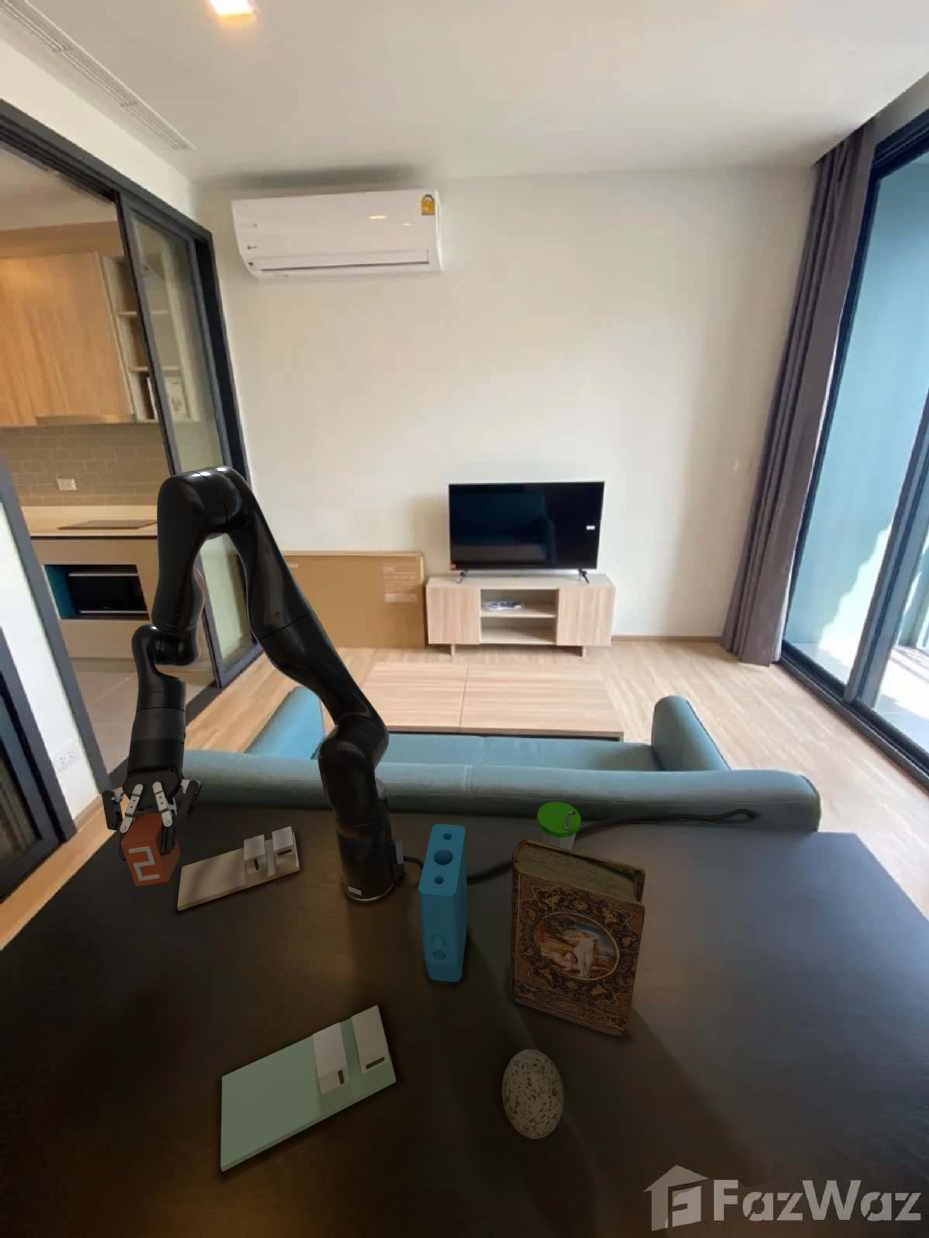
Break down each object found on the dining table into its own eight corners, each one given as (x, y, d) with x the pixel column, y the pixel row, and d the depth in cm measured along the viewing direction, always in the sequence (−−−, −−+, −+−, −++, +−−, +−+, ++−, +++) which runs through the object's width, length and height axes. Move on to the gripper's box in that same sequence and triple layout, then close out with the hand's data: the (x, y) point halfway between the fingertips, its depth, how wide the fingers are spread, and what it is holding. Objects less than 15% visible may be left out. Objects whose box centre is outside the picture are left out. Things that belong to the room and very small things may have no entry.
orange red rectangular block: (180, 852, 80) (168, 811, 77) (167, 883, 75) (153, 839, 72) (150, 857, 79) (136, 815, 76) (135, 887, 74) (119, 844, 71)
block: (459, 995, 72) (455, 896, 64) (425, 991, 72) (417, 893, 65) (468, 918, 83) (466, 825, 75) (438, 915, 83) (433, 823, 76)
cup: (535, 840, 97) (538, 779, 92) (576, 844, 96) (581, 782, 91) (534, 874, 90) (537, 810, 85) (578, 879, 89) (584, 814, 84)
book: (505, 998, 71) (507, 869, 62) (514, 961, 76) (517, 836, 67) (625, 1040, 66) (647, 907, 57) (626, 997, 71) (647, 868, 62)
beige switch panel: (294, 835, 100) (291, 818, 98) (299, 870, 92) (296, 852, 91) (183, 870, 93) (177, 852, 91) (178, 911, 85) (172, 892, 83)
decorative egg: (571, 1143, 57) (577, 1094, 53) (511, 1162, 56) (513, 1113, 52) (548, 1069, 63) (552, 1020, 60) (494, 1084, 62) (494, 1035, 58)
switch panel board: (378, 1009, 70) (375, 989, 68) (396, 1081, 63) (393, 1060, 61) (223, 1080, 63) (216, 1059, 61) (222, 1172, 55) (213, 1151, 54)
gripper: (96, 742, 75) (78, 866, 69) (196, 731, 78) (188, 850, 71) (121, 750, 82) (107, 863, 76) (213, 739, 85) (207, 849, 78)
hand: (146, 856), depth 74 cm, fingers closed on orange red rectangular block, 4 cm apart
